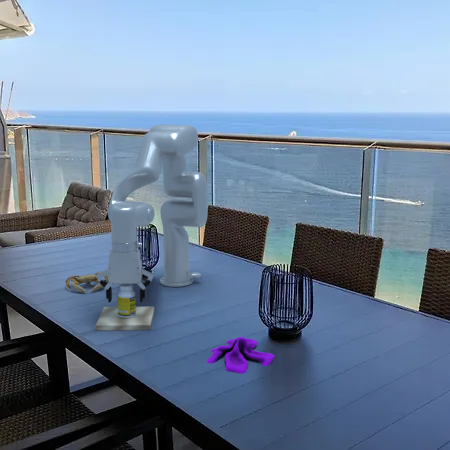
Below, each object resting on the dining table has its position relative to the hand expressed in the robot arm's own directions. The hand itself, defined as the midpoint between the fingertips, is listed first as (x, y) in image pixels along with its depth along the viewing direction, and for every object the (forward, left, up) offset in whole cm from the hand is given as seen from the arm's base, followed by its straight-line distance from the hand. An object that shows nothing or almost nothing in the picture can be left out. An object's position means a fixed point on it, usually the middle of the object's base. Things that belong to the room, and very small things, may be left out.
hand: (125, 300), depth 165 cm
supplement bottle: (0, 0, -5) cm, 5 cm away
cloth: (-32, +27, -7) cm, 42 cm away
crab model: (+18, -33, -7) cm, 38 cm away
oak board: (0, 0, -6) cm, 6 cm away
